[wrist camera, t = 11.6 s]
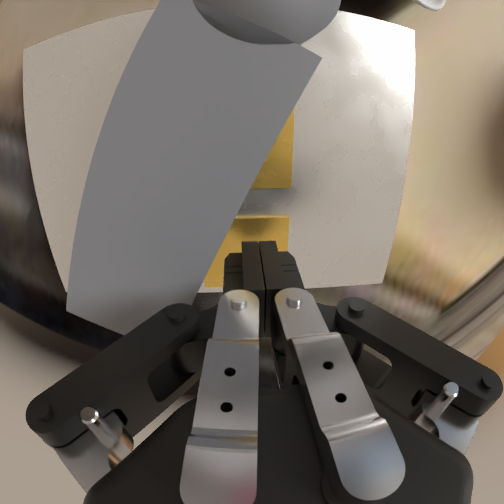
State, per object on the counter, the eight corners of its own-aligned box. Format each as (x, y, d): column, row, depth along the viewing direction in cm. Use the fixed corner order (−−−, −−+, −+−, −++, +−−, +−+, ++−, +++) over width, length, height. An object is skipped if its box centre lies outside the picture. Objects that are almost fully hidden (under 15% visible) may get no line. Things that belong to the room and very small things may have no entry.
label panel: (399, 30, 11) (434, 23, 8) (373, 270, 18) (393, 300, 16) (38, 48, 10) (3, 45, 7) (74, 278, 17) (54, 309, 14)
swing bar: (226, -54, 6) (225, -85, 4) (343, -2, 7) (370, -22, 5) (85, 278, 13) (66, 310, 11) (176, 314, 14) (169, 351, 12)
